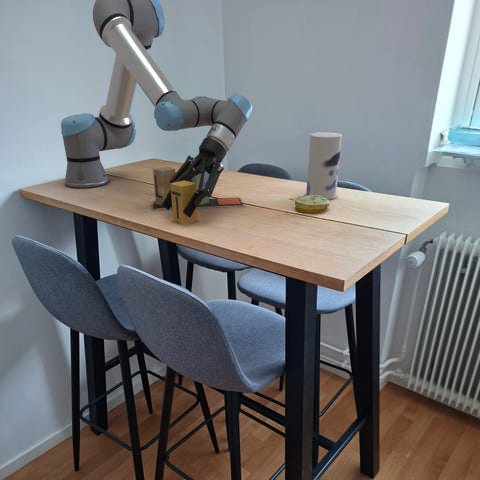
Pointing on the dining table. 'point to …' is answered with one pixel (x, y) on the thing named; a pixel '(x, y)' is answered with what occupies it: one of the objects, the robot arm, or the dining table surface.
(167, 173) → the tan tall block
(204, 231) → the dining table surface
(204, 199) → the sage I block
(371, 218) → the dining table surface
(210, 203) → the word mat
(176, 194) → the tall mustard brick
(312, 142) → the container
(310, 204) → the decorated donut
